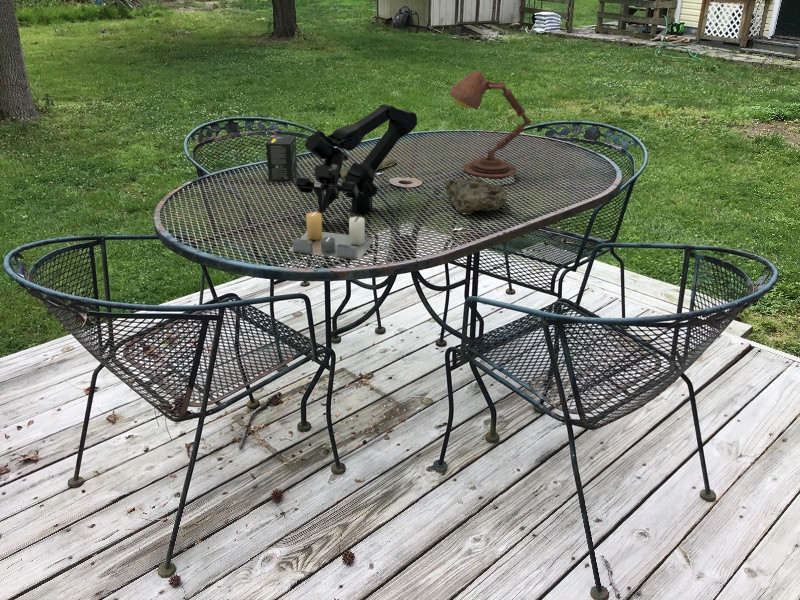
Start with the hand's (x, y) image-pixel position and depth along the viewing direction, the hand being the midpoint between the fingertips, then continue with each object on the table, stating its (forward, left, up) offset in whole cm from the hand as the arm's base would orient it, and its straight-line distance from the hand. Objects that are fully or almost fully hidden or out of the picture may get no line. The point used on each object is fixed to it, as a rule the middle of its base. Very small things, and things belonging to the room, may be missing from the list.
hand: (321, 212), depth 195 cm
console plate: (+5, +11, -7) cm, 13 cm away
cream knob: (-1, +15, -5) cm, 15 cm away
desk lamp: (-83, +1, -7) cm, 83 cm away
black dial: (+8, +13, -5) cm, 16 cm away
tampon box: (-26, -51, -7) cm, 58 cm away
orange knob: (+6, +3, -5) cm, 8 cm away
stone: (-55, +18, -7) cm, 58 cm away
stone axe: (-52, -35, -7) cm, 64 cm away
